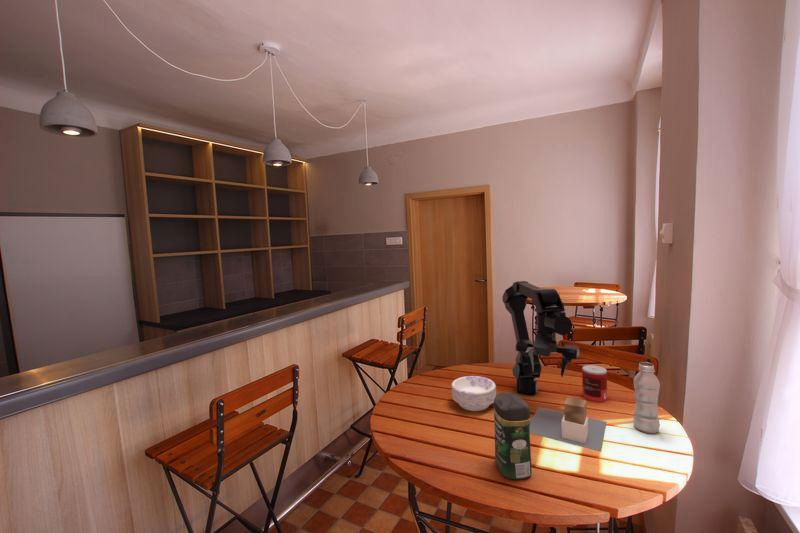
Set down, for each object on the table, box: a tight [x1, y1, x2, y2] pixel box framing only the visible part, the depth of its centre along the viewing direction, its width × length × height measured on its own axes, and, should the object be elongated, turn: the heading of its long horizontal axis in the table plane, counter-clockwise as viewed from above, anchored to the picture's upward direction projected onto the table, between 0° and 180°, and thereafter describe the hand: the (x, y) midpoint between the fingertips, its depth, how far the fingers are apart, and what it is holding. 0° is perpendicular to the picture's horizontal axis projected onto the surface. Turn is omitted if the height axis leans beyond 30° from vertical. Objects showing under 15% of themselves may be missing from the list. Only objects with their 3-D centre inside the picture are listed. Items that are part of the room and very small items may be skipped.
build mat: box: [530, 407, 608, 453], centre depth 108 cm, size 20×18×1 cm
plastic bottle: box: [632, 362, 661, 435], centre depth 104 cm, size 6×7×20 cm
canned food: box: [581, 364, 608, 403], centre depth 126 cm, size 8×8×11 cm
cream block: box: [562, 416, 589, 443], centre depth 102 cm, size 6×6×5 cm
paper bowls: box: [451, 375, 497, 412], centre depth 125 cm, size 15×15×8 cm
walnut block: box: [563, 396, 587, 425], centre depth 102 cm, size 5×5×5 cm
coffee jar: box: [493, 392, 533, 480], centre depth 89 cm, size 10×8×19 cm
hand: (546, 374), depth 117 cm, fingers open, 9 cm apart
